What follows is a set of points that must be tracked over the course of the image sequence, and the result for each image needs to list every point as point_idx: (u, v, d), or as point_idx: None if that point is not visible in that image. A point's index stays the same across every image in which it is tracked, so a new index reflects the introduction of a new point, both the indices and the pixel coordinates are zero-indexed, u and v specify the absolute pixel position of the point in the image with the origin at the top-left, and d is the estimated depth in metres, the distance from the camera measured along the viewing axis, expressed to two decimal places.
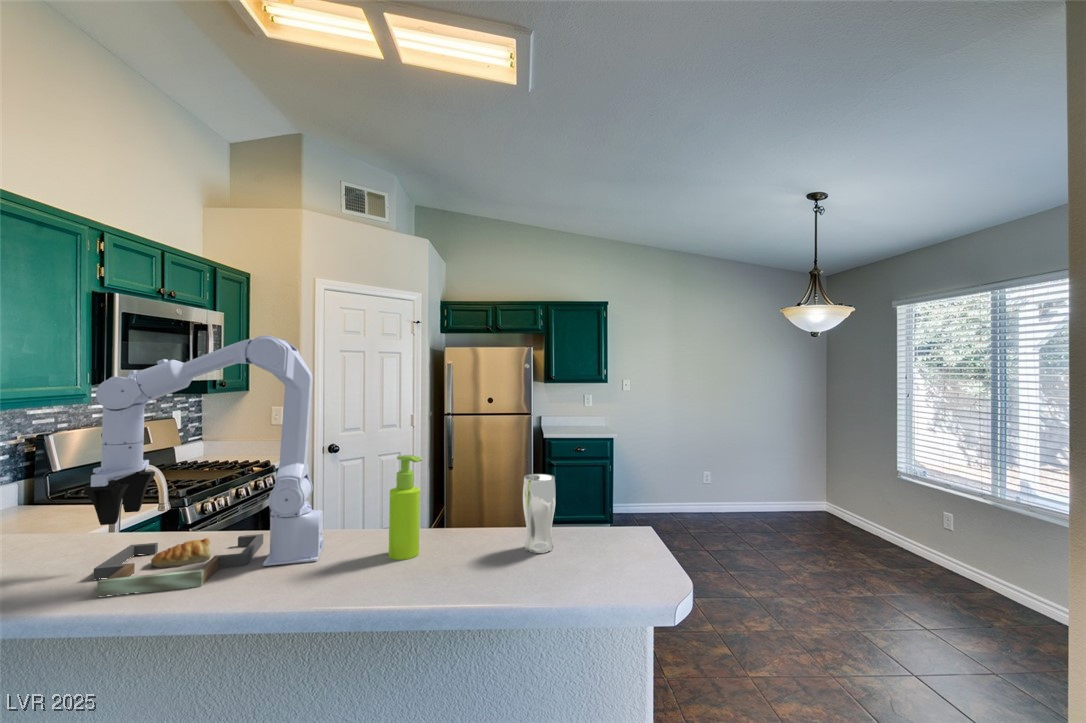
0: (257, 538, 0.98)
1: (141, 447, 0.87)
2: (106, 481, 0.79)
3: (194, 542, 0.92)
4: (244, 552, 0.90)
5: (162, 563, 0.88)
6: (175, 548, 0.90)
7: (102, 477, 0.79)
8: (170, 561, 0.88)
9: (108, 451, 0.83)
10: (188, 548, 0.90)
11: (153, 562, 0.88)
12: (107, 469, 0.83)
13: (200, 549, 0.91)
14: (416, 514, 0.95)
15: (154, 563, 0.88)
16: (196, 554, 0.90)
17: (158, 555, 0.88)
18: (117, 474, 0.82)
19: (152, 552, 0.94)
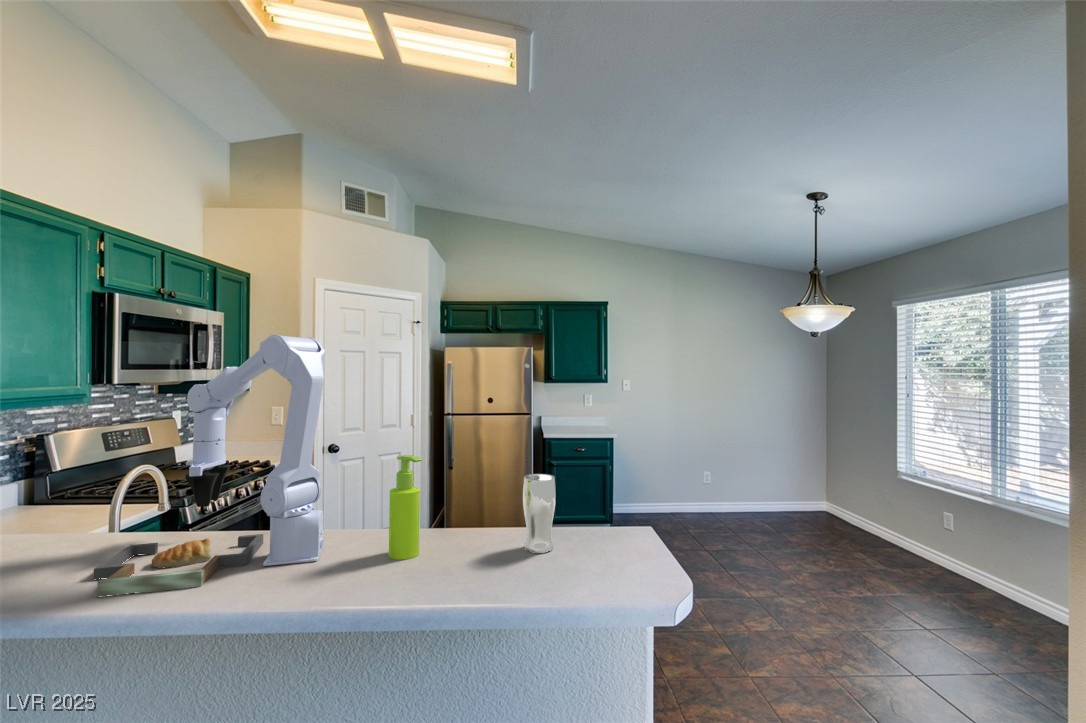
0: (257, 538, 0.98)
1: (224, 444, 1.03)
2: (201, 472, 0.95)
3: (195, 542, 0.92)
4: (244, 552, 0.90)
5: (163, 564, 0.88)
6: (176, 548, 0.90)
7: (198, 468, 0.95)
8: (170, 562, 0.88)
9: (199, 446, 0.99)
10: (188, 548, 0.90)
11: (154, 562, 0.88)
12: (198, 462, 0.99)
13: (200, 550, 0.91)
14: (416, 514, 0.95)
15: (154, 563, 0.88)
16: (197, 554, 0.90)
17: (159, 555, 0.88)
18: (208, 466, 0.98)
19: (152, 552, 0.94)
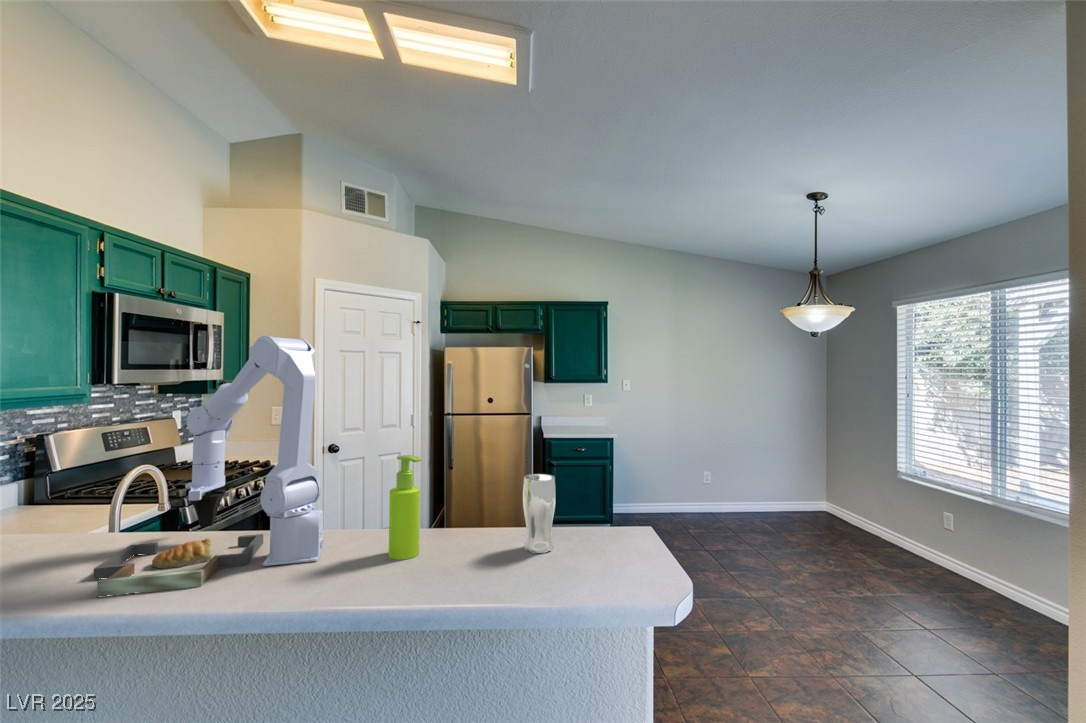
0: (257, 538, 0.98)
1: (223, 466, 1.02)
2: (200, 496, 0.95)
3: (195, 542, 0.92)
4: (244, 552, 0.90)
5: (164, 564, 0.87)
6: (176, 549, 0.90)
7: (197, 492, 0.95)
8: (171, 562, 0.88)
9: (198, 470, 0.99)
10: (189, 548, 0.90)
11: (154, 563, 0.87)
12: (198, 485, 0.99)
13: (201, 550, 0.91)
14: (416, 514, 0.95)
15: (155, 564, 0.87)
16: (198, 555, 0.90)
17: (159, 556, 0.88)
18: (207, 490, 0.97)
19: (152, 552, 0.94)
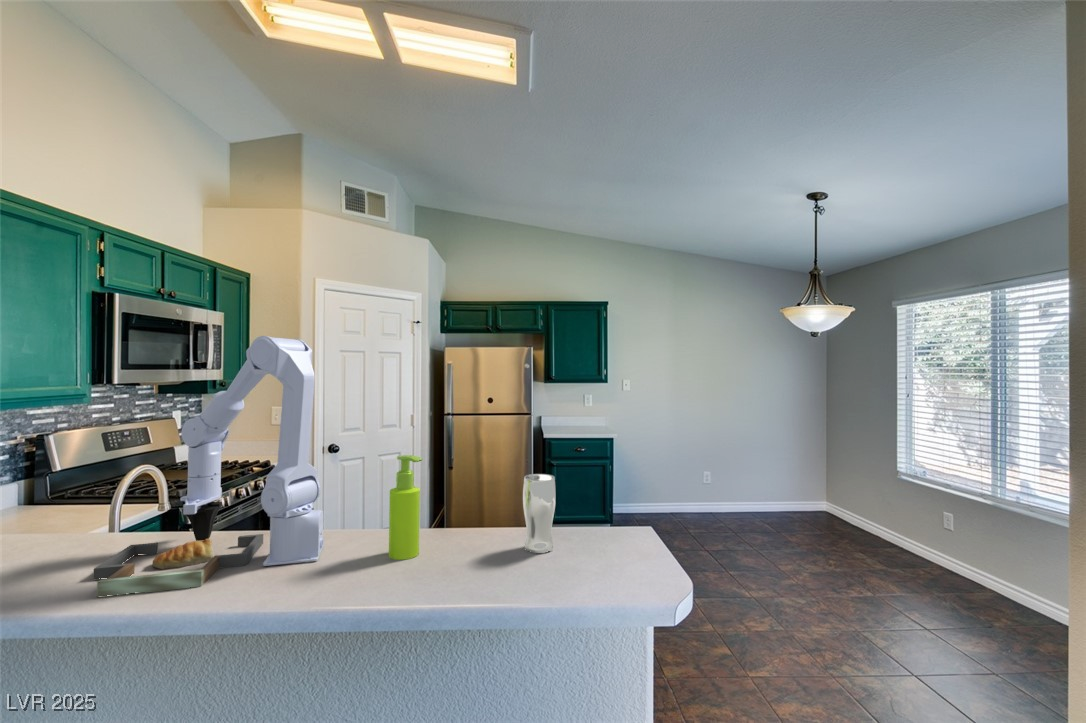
0: (257, 538, 0.98)
1: (219, 478, 1.00)
2: (195, 509, 0.93)
3: (196, 543, 0.92)
4: (244, 552, 0.90)
5: (164, 564, 0.87)
6: (177, 549, 0.89)
7: (192, 506, 0.93)
8: (172, 562, 0.88)
9: (194, 482, 0.97)
10: (190, 549, 0.90)
11: (155, 563, 0.87)
12: (193, 498, 0.97)
13: (202, 550, 0.90)
14: (416, 514, 0.95)
15: (156, 564, 0.87)
16: (199, 555, 0.90)
17: (160, 556, 0.88)
18: (203, 503, 0.95)
19: (152, 552, 0.94)
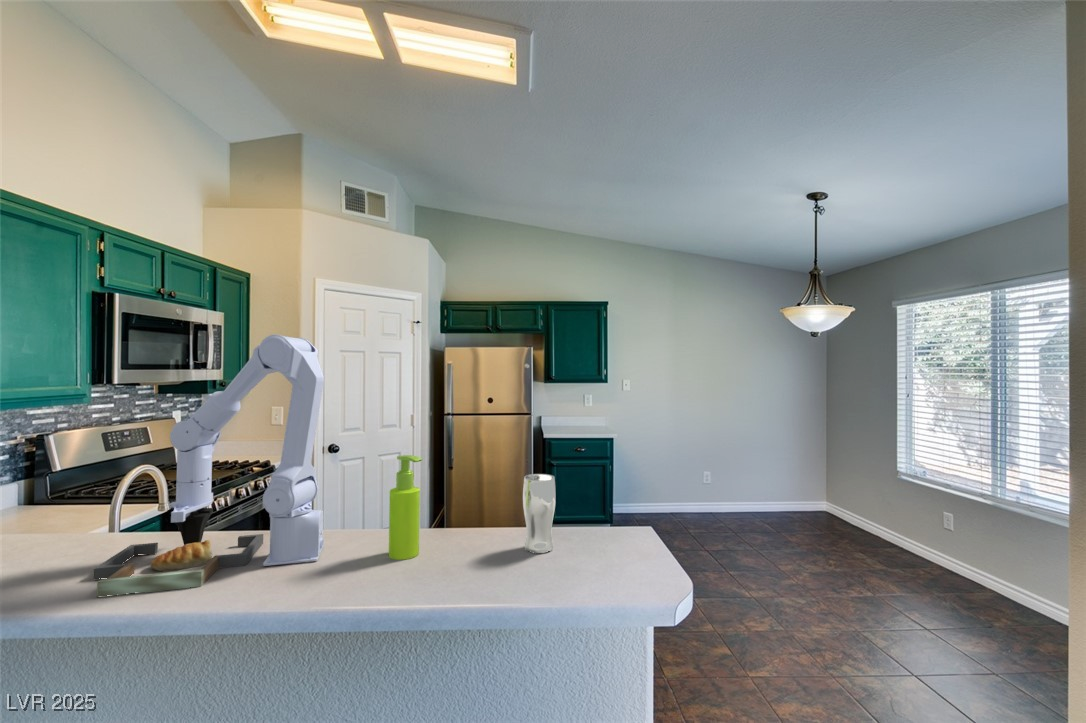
0: (257, 538, 0.98)
1: (210, 483, 0.95)
2: (184, 517, 0.88)
3: (195, 544, 0.90)
4: (244, 552, 0.90)
5: (163, 566, 0.86)
6: (175, 551, 0.88)
7: (181, 514, 0.88)
8: (170, 564, 0.86)
9: (183, 488, 0.92)
10: (188, 550, 0.88)
11: (153, 565, 0.86)
12: (182, 505, 0.92)
13: (201, 552, 0.89)
14: (416, 514, 0.95)
15: (154, 566, 0.86)
16: (197, 557, 0.89)
17: (158, 558, 0.87)
18: (192, 510, 0.90)
19: (152, 552, 0.94)
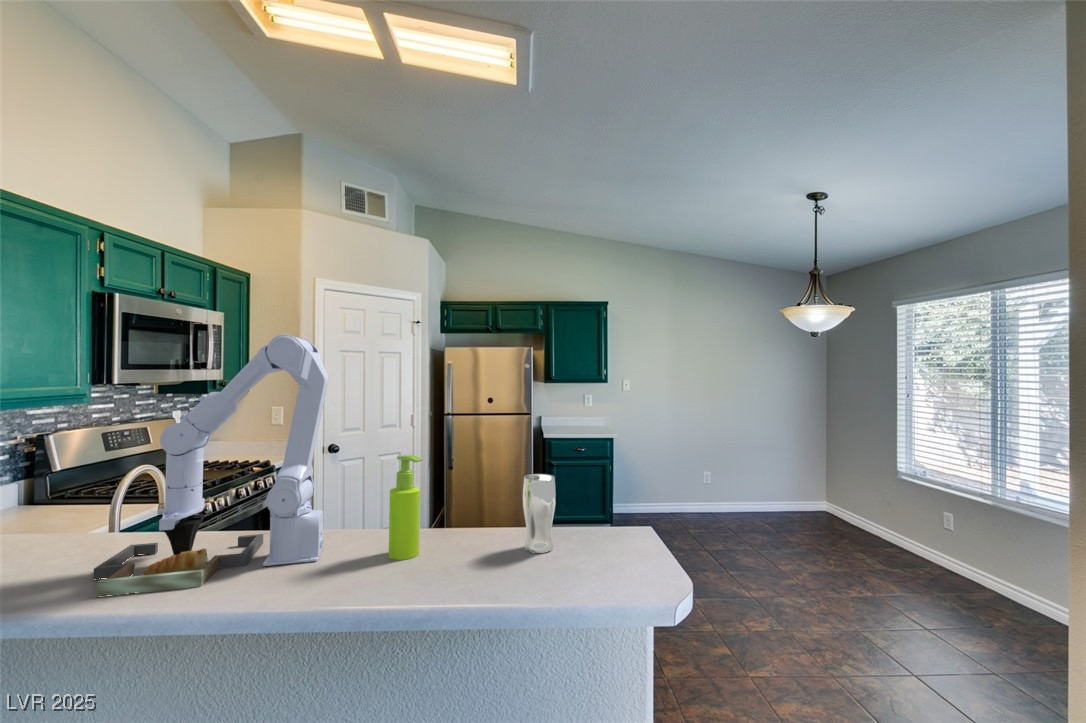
0: (257, 538, 0.98)
1: (201, 489, 0.91)
2: (173, 525, 0.84)
3: (189, 553, 0.86)
4: (244, 552, 0.90)
5: None
6: (169, 559, 0.84)
7: (169, 521, 0.83)
8: None
9: (172, 494, 0.87)
10: (182, 559, 0.84)
11: (145, 574, 0.82)
12: (171, 511, 0.87)
13: (194, 561, 0.85)
14: (416, 514, 0.95)
15: None
16: (190, 566, 0.84)
17: (151, 567, 0.83)
18: (182, 517, 0.86)
19: (152, 552, 0.94)
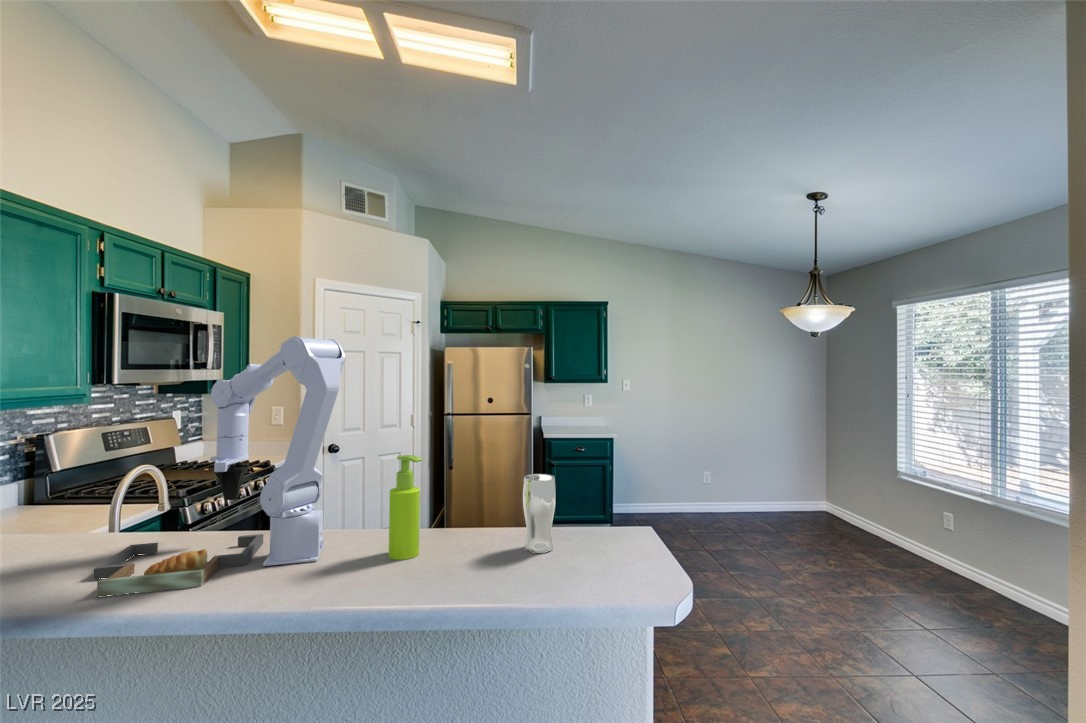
0: (257, 538, 0.98)
1: (247, 439, 1.02)
2: (226, 467, 0.95)
3: (190, 553, 0.86)
4: (244, 552, 0.90)
5: None
6: (169, 560, 0.84)
7: (223, 464, 0.95)
8: None
9: (223, 442, 0.99)
10: (183, 560, 0.84)
11: None
12: (222, 458, 0.98)
13: (195, 562, 0.85)
14: (416, 514, 0.95)
15: None
16: (191, 567, 0.84)
17: (151, 567, 0.83)
18: (232, 462, 0.97)
19: (152, 552, 0.94)
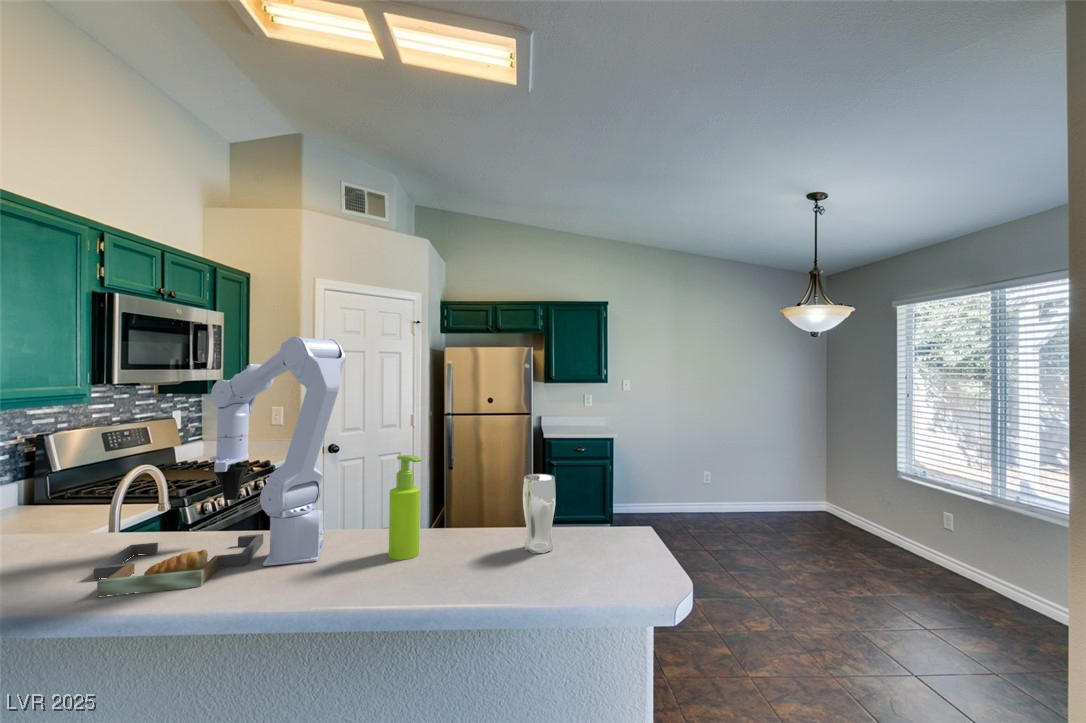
0: (257, 538, 0.98)
1: (247, 439, 1.02)
2: (226, 467, 0.95)
3: (190, 554, 0.86)
4: (244, 552, 0.90)
5: None
6: (170, 561, 0.84)
7: (223, 464, 0.95)
8: None
9: (223, 442, 0.99)
10: (183, 560, 0.84)
11: None
12: (223, 458, 0.98)
13: (196, 562, 0.85)
14: (416, 514, 0.95)
15: None
16: (192, 567, 0.84)
17: (151, 568, 0.83)
18: (232, 462, 0.97)
19: (152, 552, 0.94)
